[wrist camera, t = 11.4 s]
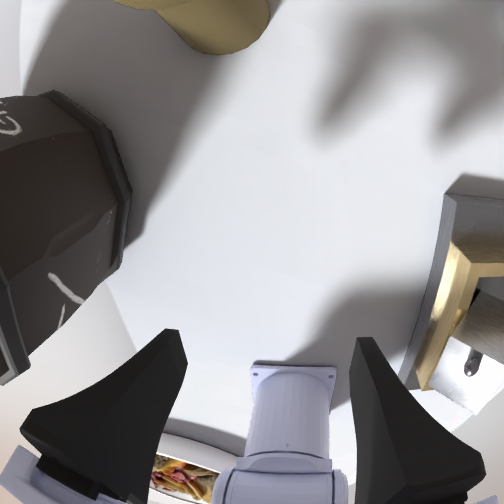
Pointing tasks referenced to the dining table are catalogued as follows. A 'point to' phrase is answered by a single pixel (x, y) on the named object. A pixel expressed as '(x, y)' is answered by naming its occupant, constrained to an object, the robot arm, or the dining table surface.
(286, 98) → the dining table surface
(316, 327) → the dining table surface
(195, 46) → the pepper shaker
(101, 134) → the barrel
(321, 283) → the dining table surface
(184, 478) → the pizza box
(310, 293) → the dining table surface
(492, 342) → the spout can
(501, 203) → the wooden cabinet body
